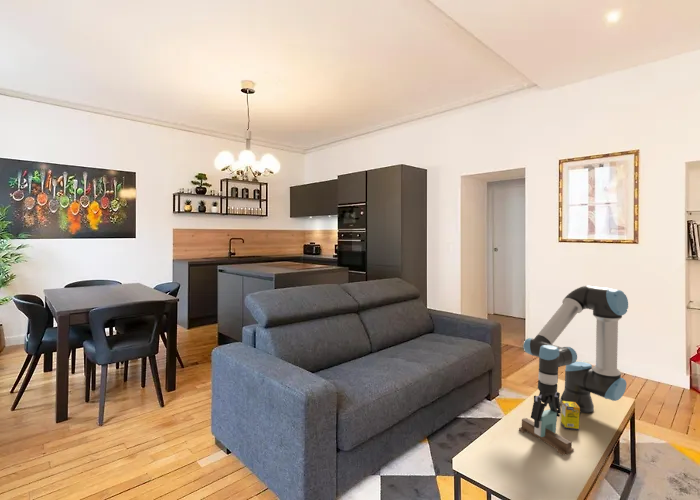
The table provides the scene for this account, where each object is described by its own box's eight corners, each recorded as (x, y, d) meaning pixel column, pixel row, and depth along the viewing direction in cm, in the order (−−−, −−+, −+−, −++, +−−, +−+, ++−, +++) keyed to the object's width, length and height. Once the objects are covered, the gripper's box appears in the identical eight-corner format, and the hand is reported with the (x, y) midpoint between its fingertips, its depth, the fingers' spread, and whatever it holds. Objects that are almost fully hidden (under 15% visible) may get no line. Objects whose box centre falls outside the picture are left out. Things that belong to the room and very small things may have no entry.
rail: (529, 426, 179) (529, 417, 178) (574, 451, 159) (574, 441, 159) (518, 429, 176) (518, 420, 175) (563, 455, 156) (563, 445, 156)
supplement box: (579, 430, 176) (580, 407, 175) (564, 429, 177) (566, 406, 176) (574, 424, 181) (575, 401, 181) (560, 422, 183) (561, 400, 182)
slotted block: (548, 428, 171) (549, 409, 170) (555, 432, 167) (556, 412, 167) (534, 433, 167) (535, 413, 166) (541, 437, 164) (542, 416, 163)
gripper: (556, 374, 174) (553, 422, 175) (522, 382, 164) (520, 433, 166) (572, 380, 167) (569, 430, 168) (538, 389, 158) (535, 441, 159)
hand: (545, 431), depth 167 cm, fingers closed on slotted block, 9 cm apart
